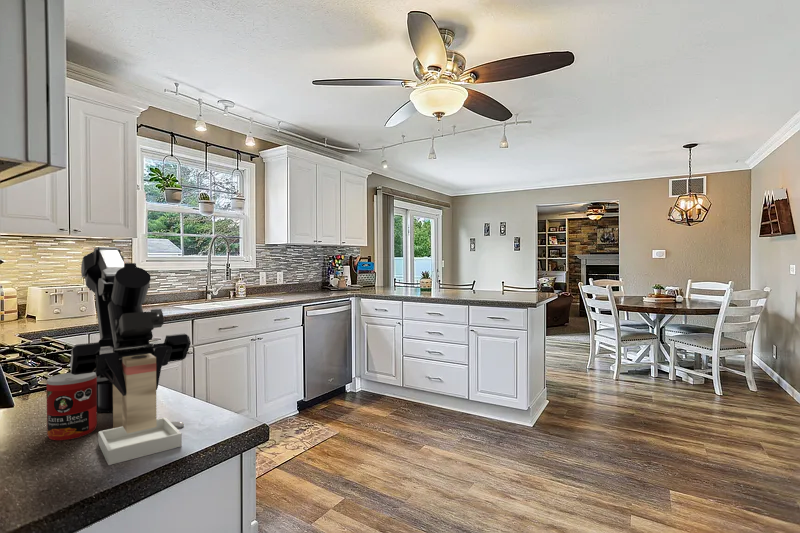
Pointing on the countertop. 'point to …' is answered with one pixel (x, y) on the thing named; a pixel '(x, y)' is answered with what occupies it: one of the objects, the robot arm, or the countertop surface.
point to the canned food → (71, 405)
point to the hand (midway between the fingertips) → (140, 391)
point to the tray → (138, 441)
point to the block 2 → (139, 392)
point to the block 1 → (117, 408)
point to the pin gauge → (178, 424)
